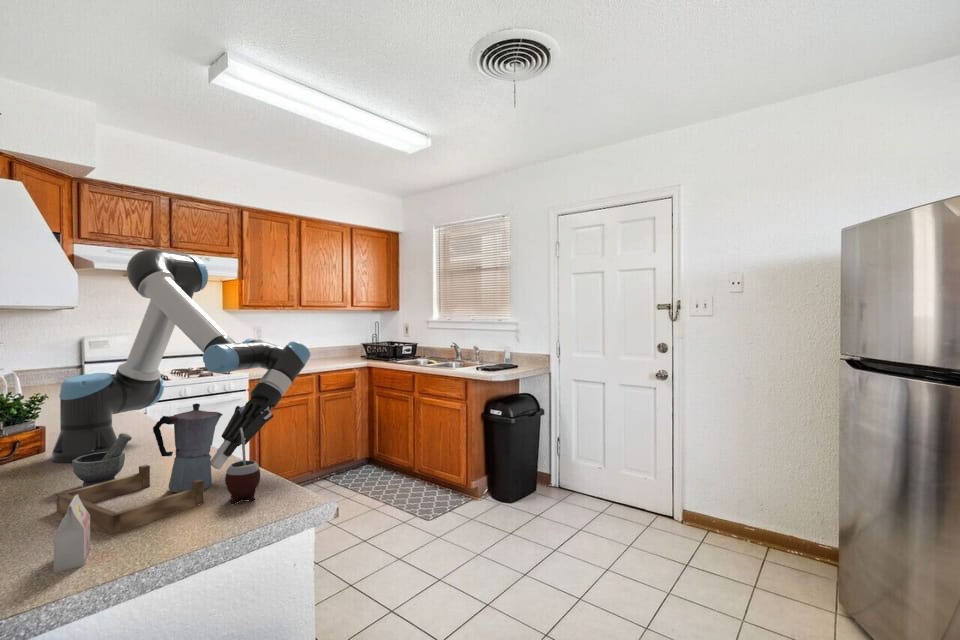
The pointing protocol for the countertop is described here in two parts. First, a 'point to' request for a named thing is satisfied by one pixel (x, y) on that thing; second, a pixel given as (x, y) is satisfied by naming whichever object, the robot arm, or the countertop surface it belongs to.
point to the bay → (131, 516)
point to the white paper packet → (72, 537)
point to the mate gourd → (242, 477)
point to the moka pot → (190, 447)
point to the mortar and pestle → (101, 463)
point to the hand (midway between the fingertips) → (214, 466)
